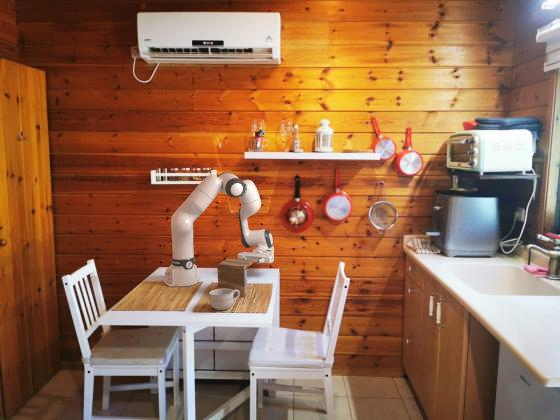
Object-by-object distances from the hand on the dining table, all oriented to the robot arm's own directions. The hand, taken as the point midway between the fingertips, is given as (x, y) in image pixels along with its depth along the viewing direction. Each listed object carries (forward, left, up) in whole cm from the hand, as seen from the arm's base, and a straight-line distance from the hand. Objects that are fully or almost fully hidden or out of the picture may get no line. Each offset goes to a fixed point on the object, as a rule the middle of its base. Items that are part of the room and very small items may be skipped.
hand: (250, 260), depth 241 cm
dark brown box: (+10, -17, -11) cm, 23 cm away
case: (+9, -15, -11) cm, 21 cm away
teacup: (+25, -34, -12) cm, 44 cm away
